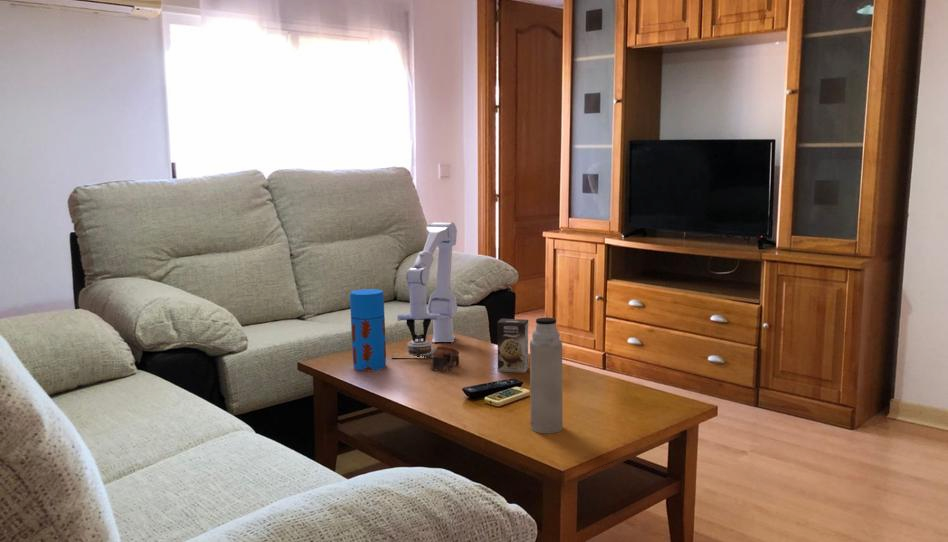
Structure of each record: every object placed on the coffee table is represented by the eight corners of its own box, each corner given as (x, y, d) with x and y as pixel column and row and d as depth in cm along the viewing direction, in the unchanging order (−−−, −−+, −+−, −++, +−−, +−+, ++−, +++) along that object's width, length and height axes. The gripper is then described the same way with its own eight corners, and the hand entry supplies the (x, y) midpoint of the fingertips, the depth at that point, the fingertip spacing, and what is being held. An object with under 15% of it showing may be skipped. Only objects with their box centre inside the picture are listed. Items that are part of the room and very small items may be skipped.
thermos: (383, 371, 252) (380, 294, 248) (350, 371, 252) (347, 295, 248) (388, 362, 262) (385, 288, 259) (356, 362, 263) (353, 289, 259)
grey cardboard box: (497, 371, 248) (496, 322, 246) (501, 366, 254) (500, 317, 252) (525, 373, 246) (525, 322, 243) (529, 367, 252) (528, 318, 250)
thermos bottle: (529, 423, 200) (527, 315, 196) (560, 422, 200) (559, 315, 196) (532, 434, 192) (531, 322, 188) (564, 433, 193) (564, 321, 188)
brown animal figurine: (423, 369, 255) (429, 345, 257) (447, 378, 259) (453, 354, 261) (441, 368, 244) (447, 342, 247) (466, 377, 249) (472, 352, 251)
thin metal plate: (396, 349, 279) (396, 339, 279) (446, 348, 279) (446, 338, 278) (391, 358, 266) (391, 348, 266) (444, 358, 266) (444, 347, 265)
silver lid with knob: (411, 340, 275) (411, 332, 275) (429, 340, 275) (429, 332, 275) (409, 345, 269) (409, 336, 269) (427, 344, 269) (427, 336, 268)
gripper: (395, 304, 266) (397, 343, 268) (438, 303, 266) (439, 342, 268) (398, 300, 273) (399, 338, 275) (439, 300, 273) (440, 338, 275)
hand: (419, 340), depth 272 cm, fingers closed on silver lid with knob, 3 cm apart
